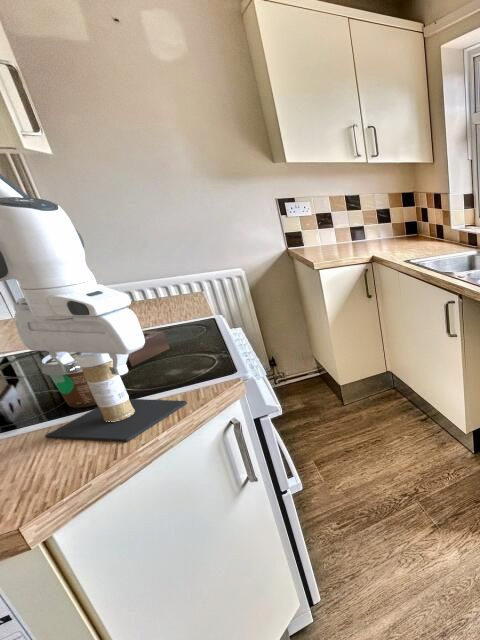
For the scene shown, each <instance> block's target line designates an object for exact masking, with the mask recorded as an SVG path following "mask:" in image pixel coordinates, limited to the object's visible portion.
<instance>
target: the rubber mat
mask: <svg viewBox="0 0 480 640" xmlns="http://www.w3.org/2000/svg"><path fill="white" fill-rule="evenodd" d="M129 400H130V403H131V405H132V407H133V408H134V410H135V412H134V414H133V415H131V416H130V417H128V418H126V419H123V420H120V421H116V422H106V421H105V420H104V417H103V414H102V412H101V410H100V408H99V406H97V407H96V408H94V409H92V410H90V411H88V412H86V413H84V414H82V415H81V416H79V417H77V418H75V419H73V420H71V421H69V422H68V423H65V424H64V425H62V426H60V427H58V428H56V429H54V430H53V431H51V432H49V433H47V434H45V435H44V437H45V438H46V439H53V440H54V439H55V440H56V439H57V440H76V441H77V440H78V441H97V442H118V443H128V442H130V441H131V440H133V439H135V438H137V437H138V436H139V435H141V434H142V433H145V431H148V430H149V429H150V428H152V427H153V426H156V425H157V424H158V423H159V422H161V421H163V420H164V419H165V418H167V417H168V416H170V415H172V414H173V413H175V412H177V411H178V410H179V409H181V408H183V407H184V406H185V405H187V404H188V402H187V400H171V399H170V400H169V399H168V400H167V399H146V398H145V399H144V398H143V399H142V398H129Z"/></svg>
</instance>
